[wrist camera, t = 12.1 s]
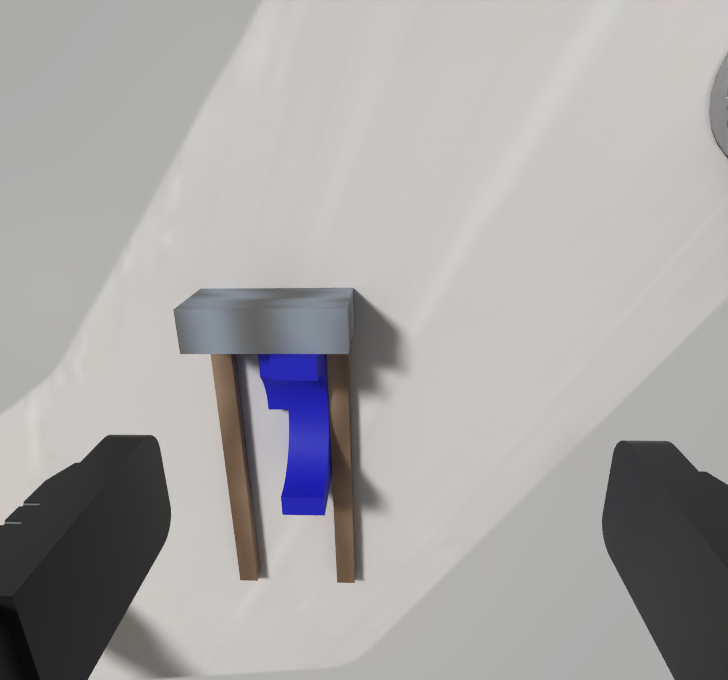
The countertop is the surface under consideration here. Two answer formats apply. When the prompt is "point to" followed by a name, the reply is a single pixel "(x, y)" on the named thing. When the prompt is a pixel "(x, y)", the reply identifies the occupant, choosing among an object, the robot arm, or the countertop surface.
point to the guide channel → (275, 336)
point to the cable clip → (302, 427)
